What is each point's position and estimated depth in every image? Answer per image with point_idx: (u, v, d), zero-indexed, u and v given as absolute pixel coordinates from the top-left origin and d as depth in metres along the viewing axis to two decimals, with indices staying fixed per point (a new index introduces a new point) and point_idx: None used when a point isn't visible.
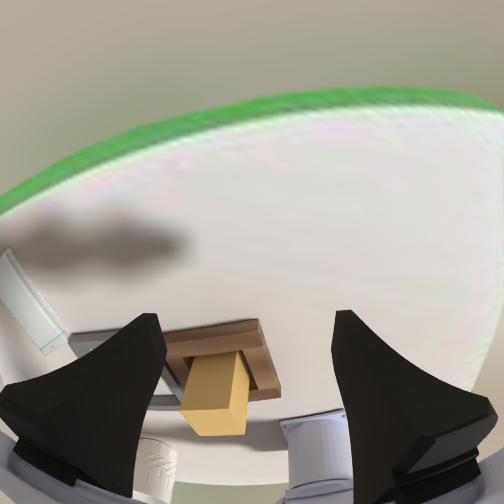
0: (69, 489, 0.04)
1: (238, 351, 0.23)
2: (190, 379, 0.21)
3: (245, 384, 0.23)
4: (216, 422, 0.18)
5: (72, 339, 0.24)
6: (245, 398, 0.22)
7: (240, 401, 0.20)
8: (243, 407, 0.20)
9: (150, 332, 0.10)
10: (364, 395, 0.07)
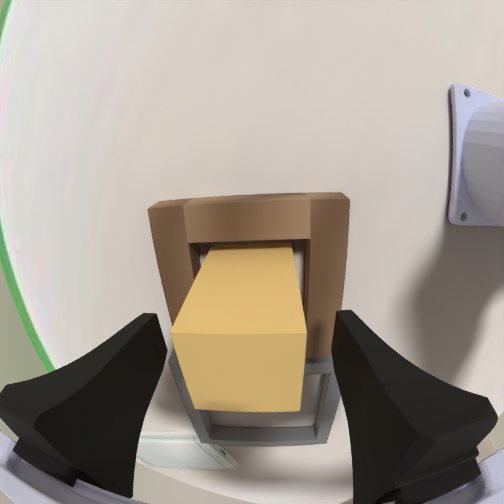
0: (69, 489, 0.04)
1: (217, 248, 0.14)
2: None
3: (271, 261, 0.12)
4: (235, 372, 0.08)
5: None
6: (279, 276, 0.11)
7: (248, 292, 0.10)
8: (269, 294, 0.10)
9: (150, 332, 0.10)
10: (364, 395, 0.07)
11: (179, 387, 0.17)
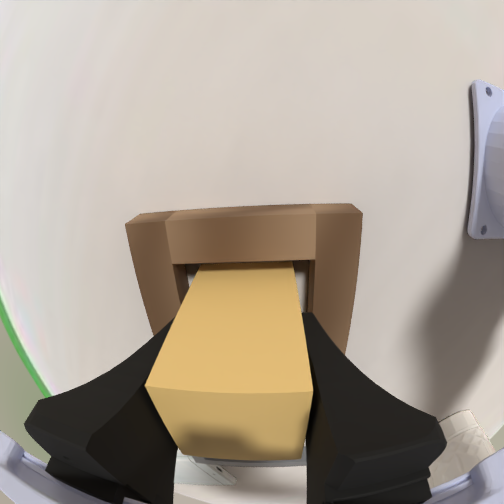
0: (69, 489, 0.04)
1: (207, 268, 0.12)
2: None
3: (269, 287, 0.10)
4: (225, 427, 0.06)
5: None
6: (279, 308, 0.09)
7: (241, 332, 0.08)
8: (267, 335, 0.08)
9: None
10: (312, 401, 0.07)
11: None
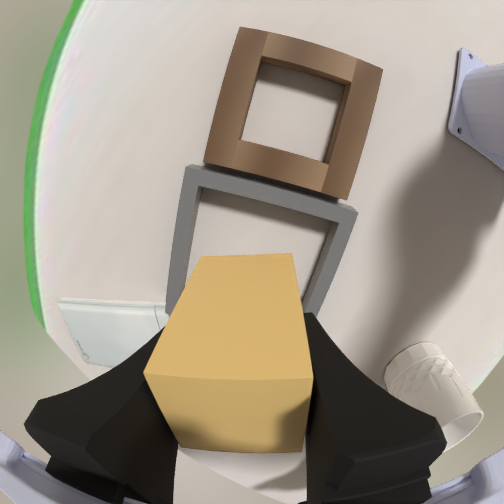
0: (69, 489, 0.04)
1: (207, 260, 0.12)
2: None
3: (268, 278, 0.10)
4: (224, 417, 0.06)
5: None
6: (278, 298, 0.09)
7: (240, 320, 0.08)
8: (267, 323, 0.08)
9: None
10: (312, 401, 0.07)
11: (181, 205, 0.17)
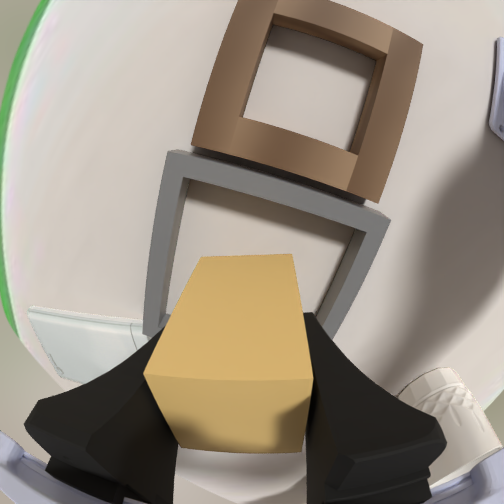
0: (69, 489, 0.04)
1: (206, 261, 0.12)
2: None
3: (268, 278, 0.10)
4: (225, 417, 0.06)
5: None
6: (278, 298, 0.09)
7: (240, 320, 0.08)
8: (266, 324, 0.08)
9: None
10: (312, 401, 0.07)
11: (160, 202, 0.13)
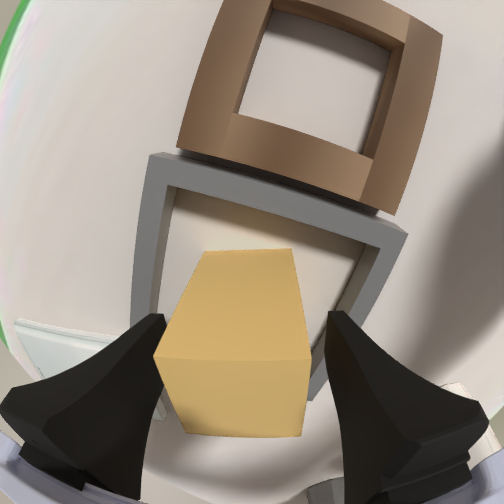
0: (69, 489, 0.04)
1: (210, 255, 0.13)
2: None
3: (269, 270, 0.11)
4: (229, 399, 0.07)
5: None
6: (279, 288, 0.09)
7: (243, 308, 0.09)
8: (268, 311, 0.08)
9: (157, 332, 0.10)
10: (354, 396, 0.07)
11: (142, 214, 0.11)
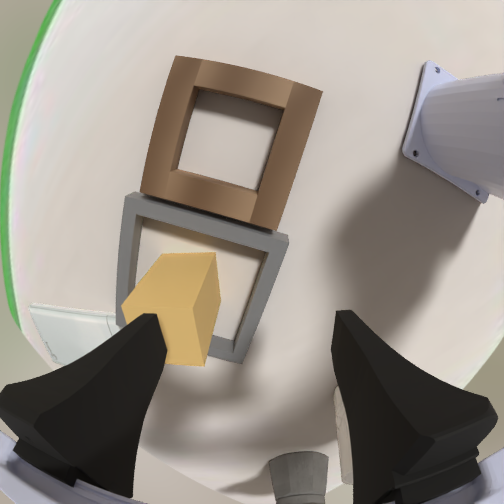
0: (69, 489, 0.04)
1: (164, 256, 0.19)
2: None
3: (194, 265, 0.18)
4: None
5: None
6: (194, 275, 0.16)
7: (171, 285, 0.15)
8: (182, 286, 0.15)
9: (150, 332, 0.10)
10: (364, 395, 0.07)
11: (122, 231, 0.18)
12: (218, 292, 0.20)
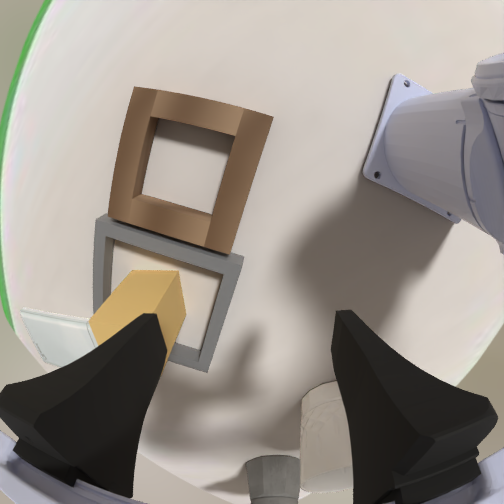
0: (69, 489, 0.04)
1: (133, 272, 0.20)
2: None
3: (156, 284, 0.19)
4: None
5: None
6: (153, 295, 0.17)
7: (132, 303, 0.16)
8: (141, 305, 0.16)
9: (150, 332, 0.10)
10: (364, 395, 0.07)
11: (95, 250, 0.19)
12: (182, 307, 0.21)
